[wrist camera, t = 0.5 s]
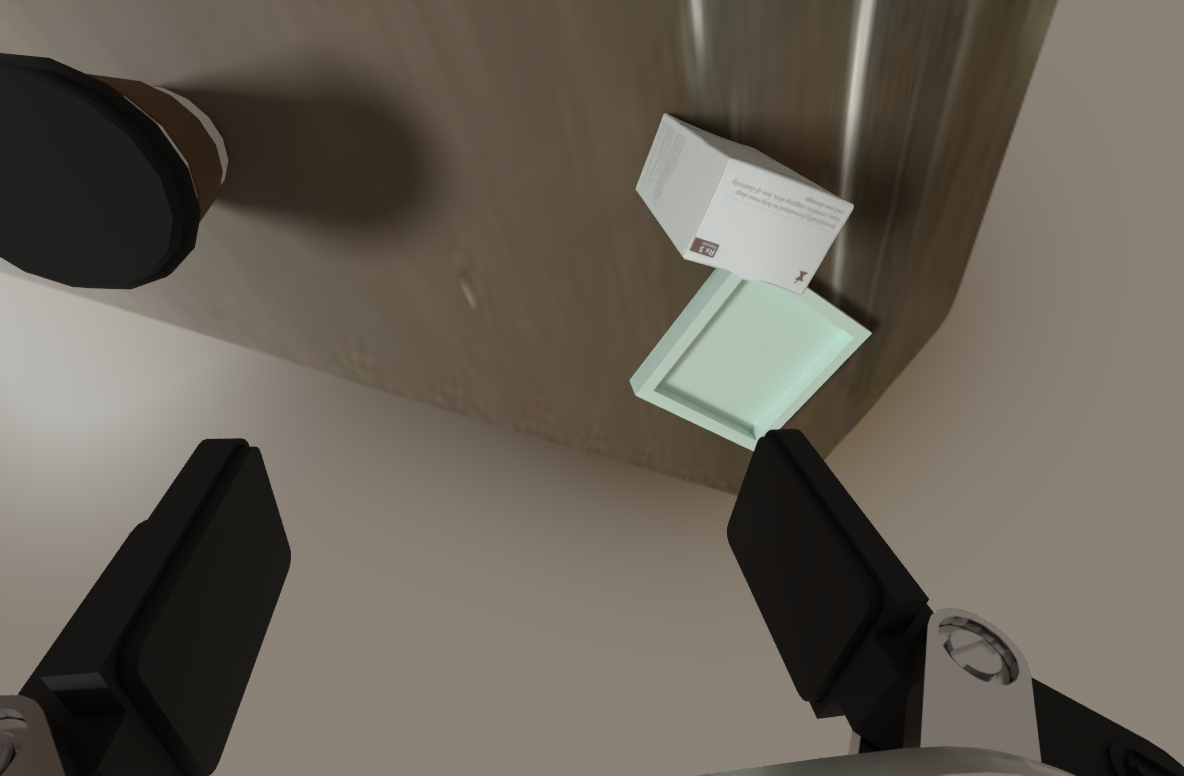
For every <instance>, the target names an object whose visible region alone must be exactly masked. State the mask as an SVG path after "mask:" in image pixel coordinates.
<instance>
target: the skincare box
mask: <svg viewBox="0 0 1184 776" xmlns="http://www.w3.org/2000/svg"><path fill="white" fill-rule="evenodd" d="M636 191H637V192H638V193H639V194H640V196H641V197H642V199H643V200H644V202H645V203H646V204H647V206H648V207H649V209H650V210H651V212H652V213H653V215H654V216H655V217H656V219H657V220H658V222H659V223H660V225H661V226H662V227H663V229H664V230H665V232H666V233H667V235H668V236H669V237H670V239H671V240H672V242H673V243H674V245H675V246H676V248H677V249H678V251H679V252H680V253H681V255H682V256H683V258H684V259H686V260H690V261H694V262H697V263H701V264H704V265H708V266H712V267H715V268H718V269H722V270H725V271H728V272H731V273H733V274H735V275H736V276H737V277H739V278H741V279H744V280H748V281H761V282H764V283H768V284H771V285H774V286H777V287H780V288H782V289H785V290H787V291H790V292H792V293H794V294H797V295H803V294H804V292H805V290H806V288H807V286H808V284H809V282H810V281H811V279H812V278H813V276H814V274H815V272H816V271H817V269H818V267H819V266H820V264H821V262H822V260H823V259H824V257H825V255H826V253H827V251H828V250H829V248H830V246H831V244H832V243H833V241H834V239H835V238H836V236H837V235H838V233H839V231H840V230H841V228H842V227H843V225H844V223H845V222H846V220H847V219H848V217H849V215H850V213H851V212H852V210H853V208H854V204H852V203H850V202H848V201H845V200H843V199H841V198H839V197H838V196H836V195H834V194H832V193H831V192H829V191H827V190H825V189H824V188H822V187H820V186H819V185H817V184H815V183H813V182H812V181H810V180H808V179H806V178H805V177H803V176H801V175H800V174H798V173H796V172H794V171H793V170H791V169H789V168H788V167H786V166H784V165H782V164H780V163H778V162H777V161H775V160H773V159H772V158H770V157H768V156H767V155H765V154H763V153H761V152H760V151H758V150H756V149H755V148H752V147H750V146H746V145H742V144H739V143H736V142H733V141H730V140H728V139H725V138H722V137H719V136H717V135H714V134H712V133H709V132H707V131H704V130H702V129H699V128H697V127H695V126H692V125H690V124H688V123H685V122H683V121H681V120H679V119H677V118H675V117H673V116H671V115H669V114H666V113H665V114H664V115H663V117H662V120H661V123H660V126H659V128H658V131H657V134H656V136H655V139H654V141H653V144H652V147H651V149H650V152H649V155H648V157H647V160H646V163H645V165H644V168H643V170H642V173H641V176H640V178H639V181H638V183H637V186H636Z"/></svg>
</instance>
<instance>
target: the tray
mask: <svg viewBox="0 0 1184 776" xmlns="http://www.w3.org/2000/svg"><path fill="white" fill-rule="evenodd" d="M871 334H872V333H871V332H870V331H869V330H868V329H866V328H865V327H864V326H863V325H861V324H860V323H859V322H858V321H856V320H855V319H854V318H852V317H851V316H849V315H848V314H846V313H845V312H844V311H842V310H841V309H839V308H838V307H836V306H835V305H834V304H832V303H831V302H829V301H828V300H826V299H825V298H824V297H822V296H821V295H819V294H818V293H816V292H815V291H814V290H812V289H811V288H809V287H808V286H807V288H806V290H805V292H804V294H803V295H797V294H794V293H792V292H790V291H787V290H785V289H782V288H780V287H777V286H774V285H771V284H768V283H764V282H761V281H748V280H744V279H741V278H739V277H737V276H736V275H735V274H733V273H731V272H728V271H725V270H722V269H718V268H715V270H714V271H713V272H712V274H711V275H710V276H709V278H708V279H707V280H706V282H705V283H704V284H703V285H702V287H701V288H700V289H699V291H698V292H697V293H696V295H695V296H694V297H693V298H692V300H691V301H690V302H689V304H688V305H687V306H686V308H685V309H684V310H683V311H682V313H681V314H680V315H679V317H678V318H677V319H676V321H675V322H674V323H673V324H672V326H671V327H670V328H669V330H668V331H667V332H666V334H665V335H664V336H663V337H662V339H661V340H660V341H659V343H658V344H657V345H656V347H655V348H654V349H653V350H652V352H651V353H650V354H649V356H648V357H647V358H646V360H645V361H644V362H643V363H642V365H641V366H640V367H639V369H638V370H637V371H636V373H635V374H634V375H633V376H632V378H631V379H630V383H631V386H632V388H633V391H634V393H635V395H636V396H638V397H640V398H642V399H644V400H646V401H648V402H651V403H653V404H655V405H657V406H659V407H661V408H663V409H665V410H667V411H670V412H672V413H674V414H676V415H678V416H680V417H682V418H684V419H686V420H689V421H691V422H693V423H695V424H697V425H699V426H701V427H703V428H705V429H708V430H710V431H712V432H714V433H716V434H718V435H720V436H722V437H724V438H727V439H729V440H731V441H733V442H735V443H737V444H739V445H741V446H743V447H746V448H748V449H750V450H752V451H754V449H755V447H756V444H757V441H758V439H759V438H760V437H764V436H765V434H766V433H767V432H768V431H769V430H772V429H780V428H781V427H782V426H783V425H784V424H785V423H786V422H787V421H788V420H789V419H790V418H791V417H792V416H793V415H794V413H795V412H796V411H797V410H798V409H799V408H800V407H801V406H802V405H803V404H804V403H805V402H806V401H807V400H808V399H809V398H810V397H811V396H812V395H813V394H814V393H815V392H816V391H817V390H818V389H819V388H820V387H821V386H822V384H823V383H824V382H825V381H826V380H827V379H828V378H829V377H830V376H831V375H832V374H833V373H834V372H835V371H836V370H837V369H838V368H839V367H840V366H841V365H842V364H843V363H844V362H845V361H846V360H847V359H848V358H849V357H850V356H851V354H852V353H853V352H854V351H855V350H856V349H857V348H858V347H859V346H860V345H861V344H862V343H863V342H864V341H865V340H866V339H867V338H868V337H869V336H870V335H871Z"/></svg>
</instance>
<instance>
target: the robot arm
mask: <svg viewBox="0 0 1184 776" xmlns="http://www.w3.org/2000/svg"><path fill="white" fill-rule="evenodd" d="M727 537H728V541H729V544H730V546H731V549H732V551H733V553H734V555H735V557H736V559H737V562H738V564H739V566H740V568H741V570H742V572H743V575H744V577H745V579H746V581H747V583H748V585H749V588H750V589H751V592H752V594H753V596H754V598H755V601H756V603H757V605H758V607H759V609H760V612H761V613H762V616H763V618H764V620H765V622H766V625H767V627H768V629H769V631H770V633H771V635H772V637H773V640H774V642H775V644H776V646H777V648H778V650H779V653H780V655H781V657H782V659H783V661H784V663H785V666H786V668H787V670H788V672H789V674H790V677H791V679H792V681H793V683H794V685H795V687H796V690H797V692H798V693H799V695H800V696H801V698H802V699H803V700H805V701H809V702H810V704H811V706H812V709H813V711H814V713H815V715H816V717H817V718H818V719H820V718H828V717H835V716H843V715H845V716H846V718H847V720H848V722H849V724H850V726H851V728H852V734H851V740H850V747H849V752H848V755H845V756H837V757H828V758H820V759H813V760H805V761H798V762H791V763H784V764H778V765H770V766H763V767H756V768H749V769H741V770H734V771H728V772H720V773H713V774H706V775H699V776H1184V767H1183V766H1182V765H1181V764H1180V763H1179V762H1177V761H1176V760H1175V759H1174V758H1173V757H1171V756H1170V755H1169V754H1168V753H1166V752H1165V751H1164V750H1162V749H1160V748H1159V747H1157V746H1156V745H1154V744H1153V743H1151V742H1150V741H1148V740H1146V739H1144V738H1143V737H1141V736H1139V735H1137V734H1135V733H1133V732H1132V731H1130V730H1128V729H1126V728H1124V727H1122V726H1120V725H1119V724H1117V723H1114V722H1113V721H1111V720H1109V719H1107V718H1106V717H1104V716H1102V715H1100V714H1098V713H1096V712H1095V711H1093V710H1091V709H1089V708H1087V707H1085V706H1083V705H1082V704H1080V703H1078V702H1076V701H1074V700H1072V699H1071V698H1068V697H1067V696H1065V695H1063V694H1061V693H1059V692H1058V691H1056V690H1054V689H1052V688H1050V687H1048V686H1047V685H1045V684H1043V683H1041V682H1039V681H1037V680H1036V679H1033V678H1032V677H1031V673H1030V670H1029V667H1028V663H1027V661H1026V659H1025V658H1024V656H1023V654H1022V653H1021V651H1020V650H1019V648H1018V647H1017V646H1016V645H1015V644H1014V643H1013V642H1012V640H1011V639H1010V638H1009V637H1008V636H1007V635H1006V634H1005V633H1003V632H1002V631H1001V630H1000V629H998V628H997V627H996V626H994V625H993V624H992V623H990V622H988V621H986V620H985V619H983V618H981V617H979V616H978V615H976V614H973V613H970V612H967V611H964V610H961V609H954V608H945V609H941V610H937V611H936V612H935V613H933V611H932V610H931V609H930V607H929V606H928V605H927V602H928V600H929V598H928V597H927V596H926V594H925V593H924V592H923V590H922V589H921V588H920V586H919V585H918V584H917V582H916V581H915V580H914V579H913V577H912V576H911V575H910V573H909V572H908V571H907V569H906V568H905V567H904V565H903V564H902V563H901V561H900V560H899V559H898V558H897V556H896V555H895V554H894V553H893V551H892V550H891V549H890V547H889V546H888V544H887V543H886V542H885V541H884V539H883V538H882V537H881V536H880V534H879V533H878V531H877V530H876V529H875V527H874V526H873V525H872V523H871V522H870V521H869V520H868V518H867V517H866V516H865V514H864V513H863V512H862V510H861V509H860V508H859V506H858V505H857V504H856V502H855V501H854V500H853V499H852V497H851V496H850V495H849V493H848V492H847V491H846V489H845V488H844V487H843V485H842V484H841V483H840V481H839V480H838V479H837V478H836V476H835V475H834V474H833V472H832V471H831V470H830V468H829V467H828V466H827V465H826V463H825V462H824V460H823V459H822V458H821V457H820V455H819V454H818V453H817V451H816V450H815V449H814V447H813V446H812V445H811V443H810V442H809V441H808V439H807V438H806V437H805V436H804V434H803V433H802V432H801V431H800V430H797V429H772V430H769V431H768V432H767V433H766V434H765V436H764V437H760V438H759V439H758V441H757V444H756V447H755V449H754V452H753V455H752V458H751V461H750V463H749V466H748V469H747V472H746V475H745V478H744V480H743V483H742V486H741V489H740V492H739V495H738V497H737V500H736V503H735V506H734V509H733V511H732V514H731V517H730V520H729V523H728V526H727ZM290 561H291V551H290V547H289V543H288V541H287V537H286V533H285V530H284V527H283V524H282V520H281V517H280V514H279V510H278V507H277V504H276V501H275V498H274V494H273V491H272V488H271V484H270V481H269V478H268V475H267V471H266V468H265V465H264V462H263V458H262V455H261V452H260V450H259V448H258V447H250V446H249V444H248V442H247V441H246V440H245V439H241V438H238V439H237V438H236V439H206V440H203V441H202V442H201V443H200V444H199V445H198V447H197V448H196V449H195V451H194V452H193V454H192V455H191V457H190V459H189V460H188V461H187V463H186V464H185V466H184V467H183V468H182V470H181V472H180V473H179V474H178V476H177V477H176V479H175V480H174V482H173V483H172V485H171V486H170V487H169V489H168V490H167V492H166V493H165V495H164V496H163V498H162V499H161V501H160V502H159V504H158V505H157V507H156V508H155V509H154V511H153V512H152V514H151V515H150V517H149V518H148V520H145V521H143V522H142V523H140V524H138V525H137V526H136V527H135V528H134V530H133V531H132V532H131V533H130V534H129V536H128V537H127V539H126V540H125V542H124V543H123V544H122V546H121V547H120V549H119V550H118V552H117V553H116V555H115V556H114V558H113V559H112V560H111V562H110V563H109V564H108V566H107V567H106V569H105V570H104V572H103V573H102V574H101V576H100V578H99V579H98V580H97V582H96V583H95V585H94V586H93V587H92V589H91V590H90V592H89V593H88V595H87V596H86V597H85V599H84V600H83V602H82V603H81V605H80V606H79V607H78V609H77V610H76V612H75V613H74V615H73V616H72V618H71V619H70V620H69V622H68V623H67V625H66V626H65V628H64V629H63V631H62V632H61V633H60V635H59V636H58V638H57V639H56V641H55V642H54V643H53V645H52V646H51V648H50V649H49V651H48V652H47V654H46V655H45V656H44V658H43V659H42V661H41V662H40V663H39V665H38V666H37V668H36V669H35V671H34V672H33V674H32V675H31V676H30V678H29V679H28V681H27V682H26V683H25V685H24V686H23V688H22V689H21V691H20V692H19V693H18V695H0V776H209V775H211V774H212V773H213V772H214V770H215V769H216V767H217V765H218V763H219V761H220V758H221V755H222V752H223V750H224V747H225V744H226V742H227V738H228V736H229V733H230V730H231V728H232V725H233V722H234V719H235V716H236V714H237V711H238V708H239V706H240V703H241V700H242V697H243V694H244V692H245V689H246V686H247V683H248V681H249V678H250V675H251V672H252V669H253V667H254V664H255V662H256V659H257V656H258V653H259V650H260V648H261V645H262V642H263V639H264V637H265V634H266V631H267V628H268V626H269V623H270V620H271V617H272V615H273V612H274V609H275V606H276V604H277V601H278V598H279V595H280V593H281V590H282V587H283V584H284V582H285V579H286V576H287V573H288V570H289V567H290Z"/></svg>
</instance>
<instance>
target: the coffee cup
mask: <svg viewBox="0 0 1184 776" xmlns="http://www.w3.org/2000/svg"><path fill="white" fill-rule="evenodd" d="M227 165H228V158H227V154H226V150H225V146H224V142H223V139H222V137H221V135H220V134H219V132H218V131H217V129H216V128H215V126H214V125H213V123H212V122H211V120H210V119H209V117H208V116H207V115H205V114H204V113H203V112H202V111H201V110H200V109H198V108H197V107H196V106H195V105H194V104H193V103H191V102H190V101H189V100H188V99H186V98H184V97H182V96H180V95H177V94H175V93H173V92H171V91H169V90H166V89H164V88H162V87H154V86H149V85H147V84H145V83H143V82H141V81H134V80H127V79H120V78H113V77H105V76H98V75H91V74H85V73H82V72H80V71H78V70H76V69H73V68H71V67H69V66H66V65H64V64H62V63H60V62H57V61H55V60H53V59H51V58H45V57H35V56H25V55H15V54H5V53H0V257H1V258H3V259H5V260H6V261H8V262H10V263H11V264H13V265H15V266H16V267H18V268H20V269H21V270H23V271H25V272H27V273H30V274H34V275H37V276H40V277H43V278H46V279H49V280H52V281H56V282H59V283H62V284H65V285H68V286H71V287H83V288H102V289H133V288H136V287H139V286H142V285H145V284H147V283H150V282H153V281H156V280H159V279H162V278H165V277H167V276H168V275H170V274H171V273H172V272H173V271H174V270H175V269H176V268H177V267H178V266H179V264H180V263H181V262H182V261H183V260H184V259H185V258H186V257H187V256H188V254H189V253H190V252H191V251H192V250H193V249H194V248H195V243H196V238H197V232H198V226H199V223H200V221H201V220H202V218H203V217H204V215H205V214H206V212H207V211H208V209H209V208H210V206H211V205H212V204H213V202H214V201H215V199H216V198H217V196H218V195H219V190H220V186H221V184H222V183H223V181H224V180H225V176H226V170H227Z"/></svg>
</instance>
